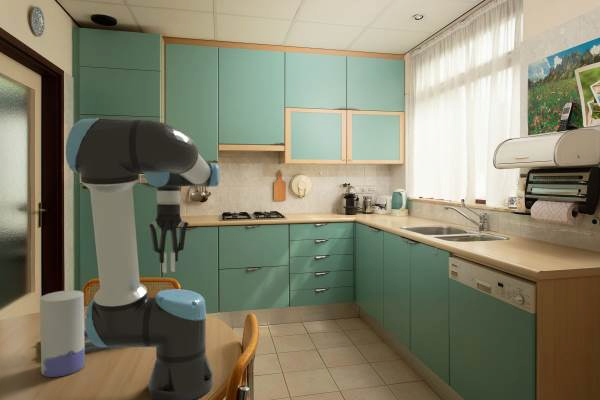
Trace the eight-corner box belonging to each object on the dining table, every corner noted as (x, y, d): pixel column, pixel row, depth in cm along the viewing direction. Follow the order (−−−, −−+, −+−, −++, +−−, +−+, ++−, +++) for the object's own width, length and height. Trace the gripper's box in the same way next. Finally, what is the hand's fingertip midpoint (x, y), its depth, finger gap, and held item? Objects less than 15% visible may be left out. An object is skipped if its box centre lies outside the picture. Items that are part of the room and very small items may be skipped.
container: (75, 357, 114) (74, 287, 113) (91, 367, 108) (90, 294, 107) (35, 369, 106) (34, 295, 106) (49, 381, 100) (48, 303, 99)
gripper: (187, 202, 143) (187, 267, 144) (142, 203, 135) (143, 272, 136) (194, 203, 137) (194, 271, 138) (147, 204, 129) (147, 276, 130)
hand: (168, 271), depth 137 cm, fingers open, 2 cm apart
